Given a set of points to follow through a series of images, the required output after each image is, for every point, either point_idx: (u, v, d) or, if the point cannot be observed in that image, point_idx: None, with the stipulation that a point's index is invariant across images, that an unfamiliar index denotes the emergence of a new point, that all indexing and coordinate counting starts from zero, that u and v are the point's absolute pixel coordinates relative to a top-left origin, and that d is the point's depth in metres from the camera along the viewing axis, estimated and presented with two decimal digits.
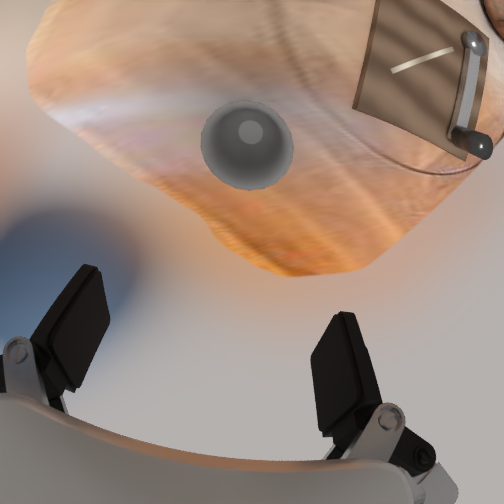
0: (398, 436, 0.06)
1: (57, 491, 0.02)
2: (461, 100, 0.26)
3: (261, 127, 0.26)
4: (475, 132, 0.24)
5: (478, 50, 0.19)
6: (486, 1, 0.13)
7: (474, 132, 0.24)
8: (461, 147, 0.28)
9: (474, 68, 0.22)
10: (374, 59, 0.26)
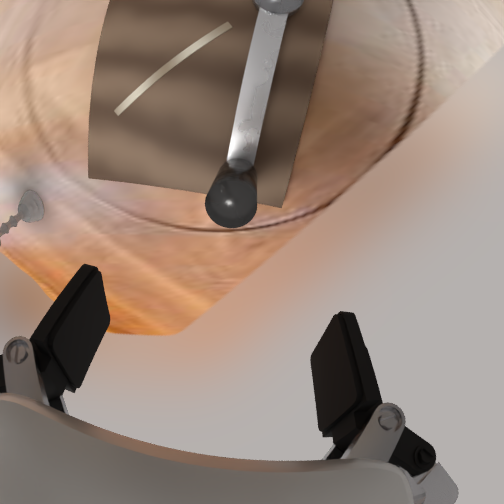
0: (398, 436, 0.06)
1: (57, 491, 0.02)
2: (236, 112, 0.21)
3: None
4: (219, 176, 0.19)
5: (277, 4, 0.15)
6: None
7: (218, 176, 0.19)
8: None
9: (268, 41, 0.17)
10: (95, 107, 0.21)
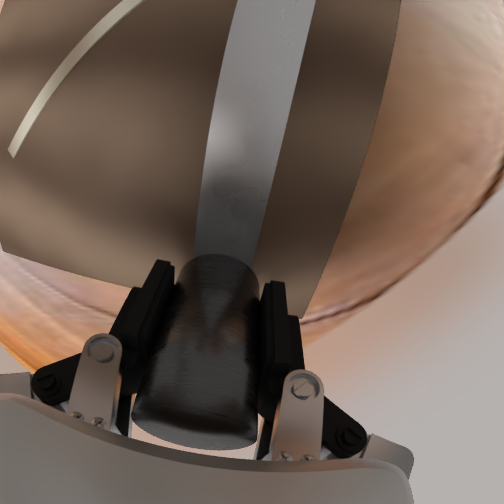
0: (321, 400, 0.07)
1: (57, 491, 0.02)
2: (207, 146, 0.09)
3: None
4: (161, 354, 0.07)
5: None
6: None
7: (159, 351, 0.07)
8: None
9: None
10: None
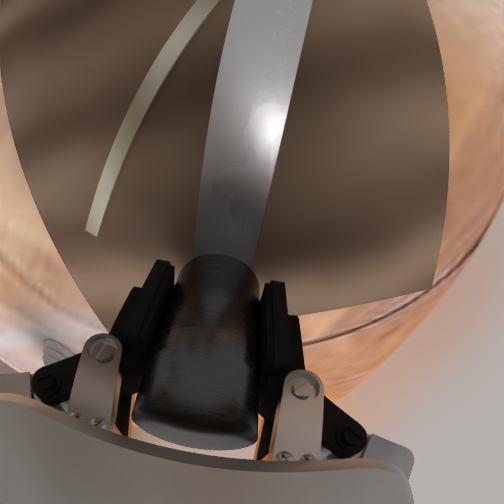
0: (321, 400, 0.07)
1: (57, 491, 0.02)
2: (206, 146, 0.09)
3: None
4: (161, 355, 0.07)
5: None
6: None
7: (159, 352, 0.07)
8: None
9: None
10: (56, 231, 0.13)
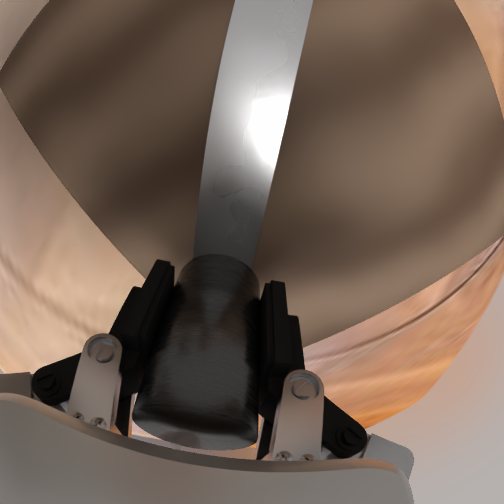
0: (321, 400, 0.07)
1: (57, 491, 0.02)
2: (206, 147, 0.09)
3: None
4: (161, 355, 0.07)
5: None
6: None
7: (159, 352, 0.07)
8: None
9: None
10: None
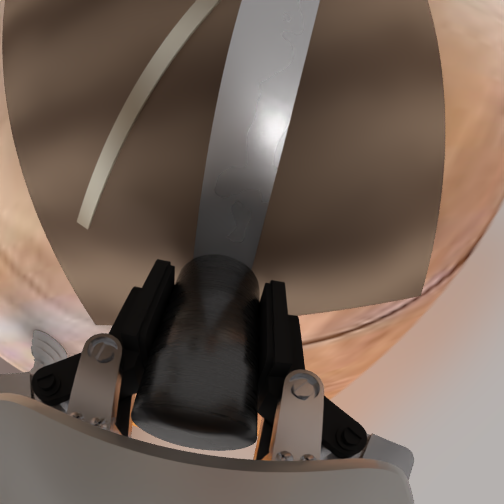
0: (321, 400, 0.07)
1: (57, 491, 0.02)
2: (209, 147, 0.09)
3: None
4: (161, 354, 0.07)
5: None
6: None
7: (159, 352, 0.07)
8: None
9: None
10: (48, 221, 0.12)
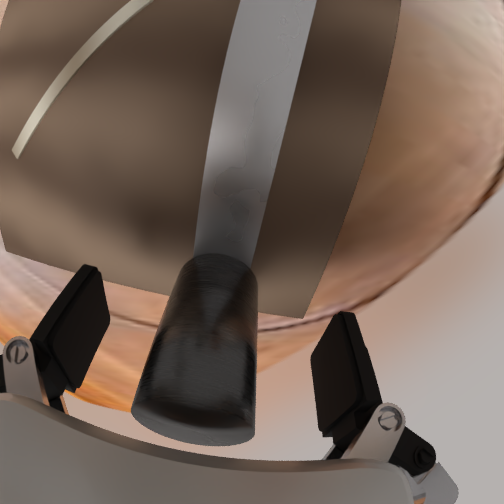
0: (398, 436, 0.06)
1: (57, 491, 0.02)
2: (208, 148, 0.09)
3: None
4: (161, 350, 0.07)
5: None
6: None
7: (159, 348, 0.07)
8: None
9: None
10: None
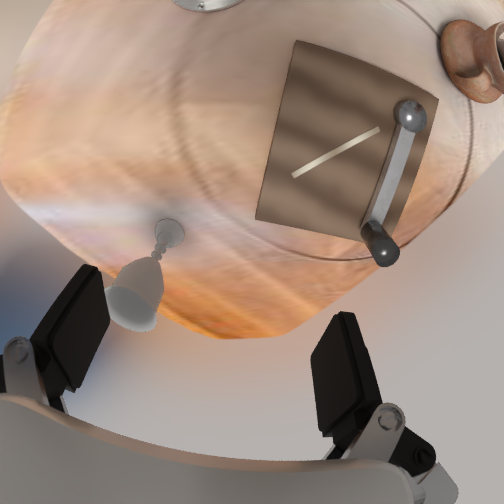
0: (397, 436, 0.06)
1: (57, 491, 0.02)
2: (378, 193, 0.34)
3: None
4: (380, 238, 0.32)
5: (412, 126, 0.28)
6: (443, 47, 0.22)
7: (378, 238, 0.32)
8: None
9: (403, 150, 0.30)
10: (273, 166, 0.35)
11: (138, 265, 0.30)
